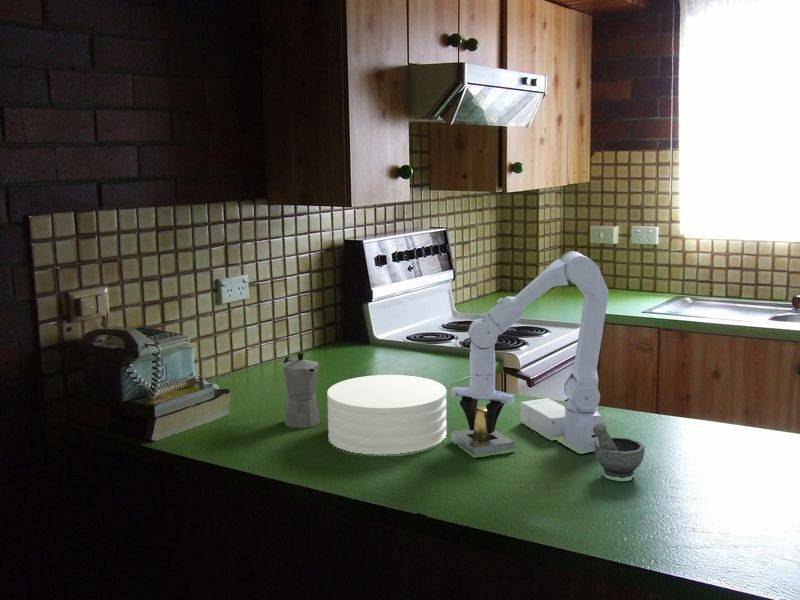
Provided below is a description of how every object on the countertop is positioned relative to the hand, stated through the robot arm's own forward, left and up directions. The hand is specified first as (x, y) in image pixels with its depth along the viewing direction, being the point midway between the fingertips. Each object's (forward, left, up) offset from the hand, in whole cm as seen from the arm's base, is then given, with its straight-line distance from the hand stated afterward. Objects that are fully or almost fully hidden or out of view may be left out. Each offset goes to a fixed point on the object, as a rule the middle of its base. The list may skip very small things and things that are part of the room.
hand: (482, 430), depth 197 cm
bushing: (0, 0, -2) cm, 2 cm away
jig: (0, 0, -4) cm, 4 cm away
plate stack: (+16, +17, -4) cm, 24 cm away
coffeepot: (+35, +33, -4) cm, 48 cm away
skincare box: (+11, -21, -1) cm, 24 cm away
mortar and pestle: (-27, -17, -4) cm, 32 cm away
